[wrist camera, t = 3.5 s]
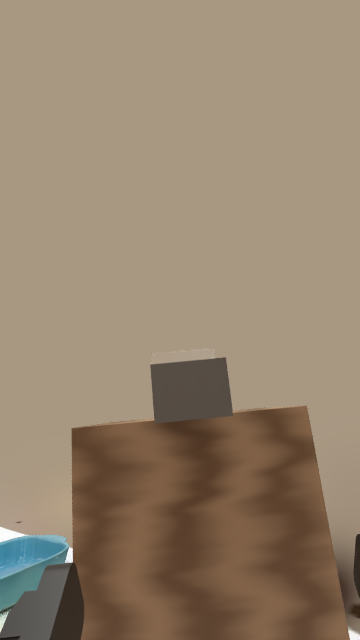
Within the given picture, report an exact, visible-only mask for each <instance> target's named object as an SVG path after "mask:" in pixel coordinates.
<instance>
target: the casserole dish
mask: <svg viewBox="0 0 360 640" xmlns="http://www.w3.org/2000/svg"><path fill="white" fill-rule="evenodd" d="M68 549H69V544H68V543H67V542H66V538H65V537H62V536H57V535H30V536H23V537H18V538H14V539H10V540H7V541H3V542H0V612H2V611H4V610H6V609H8V608H10V607H12V606H14V605H15V604H16V603H17V601H18V600H19V599H20V597H21V596H22V595H23V593H24V592H25V591H34V590H37V588H38V585H39V582H40V580H41V577H42V574H43V571H44V569H45V568H46V566H48V565H55V564H64V563H65V560H66V556H67V552H68Z"/></svg>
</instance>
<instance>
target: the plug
mask: <svg viewBox="0 0 360 640" xmlns="http://www.w3.org/2000/svg"><path fill="white" fill-rule="evenodd" d="M151 361H152V364H151V378H152V392H153V405H154V421H155V423H165V422H175V421H186V420H196V419H206V418H217V417H227V416H233V410H232V403H231V395H230V387H229V379H228V371H227V364H226V358H215V353H214V348H206V349H197V350H185V351H174V352H164V353H153V354H151Z"/></svg>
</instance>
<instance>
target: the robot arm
mask: <svg viewBox="0 0 360 640" xmlns="http://www.w3.org/2000/svg"><path fill="white" fill-rule="evenodd" d="M354 581H355V586H356V589H357V592H358V595H359V597H360V534H358V535H357V536H356V544H355V559H354ZM83 624H84V600H83V595H82V590H81V585H80V581H79V576H78V571H77V567H76V564H75V563H64V564H55V565H48V566H46V568H45V569H44V571H43V574H42V577H41V580H40V582H39V585H38V588H37V590H34V591H25V592H24V593H23V595H22V596H21V597H20V599H19V600H18V601H17V603H16V604H15V605H14V607H13V608H12V609H11V611H10V612H9V613H8V616H7V618H6V621H5V623H4V626H3V628H2V630H1V633H0V640H81V635H82V630H83Z"/></svg>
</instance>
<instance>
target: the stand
mask: <svg viewBox="0 0 360 640" xmlns="http://www.w3.org/2000/svg"><path fill="white" fill-rule="evenodd" d="M72 514H73V563H75V564H76V567H77V571H78V576H79V581H80V585H81V590H82V595H83V600H84V624H83V630H82V635H81V640H350V638H349V633H348V627H347V622H346V616H345V611H344V606H343V600H342V595H341V590H340V584H339V578H338V573H337V567H336V562H335V557H334V551H333V546H332V540H331V535H330V530H329V524H328V519H327V513H326V508H325V502H324V497H323V491H322V486H321V480H320V475H319V469H318V464H317V458H316V454H315V448H314V442H313V437H312V431H311V427H310V420H309V415H308V410H307V406H293V407H292V406H291V407H270V408H257V409H247V410H236V411H233V416H227V417H217V418H206V419H196V420H186V421H175V422H165V423H155V421H154V418H153V419H142V420H131V421H122V422H110V423H104V424H97V425H90V426H84V427H78V428H72Z"/></svg>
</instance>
